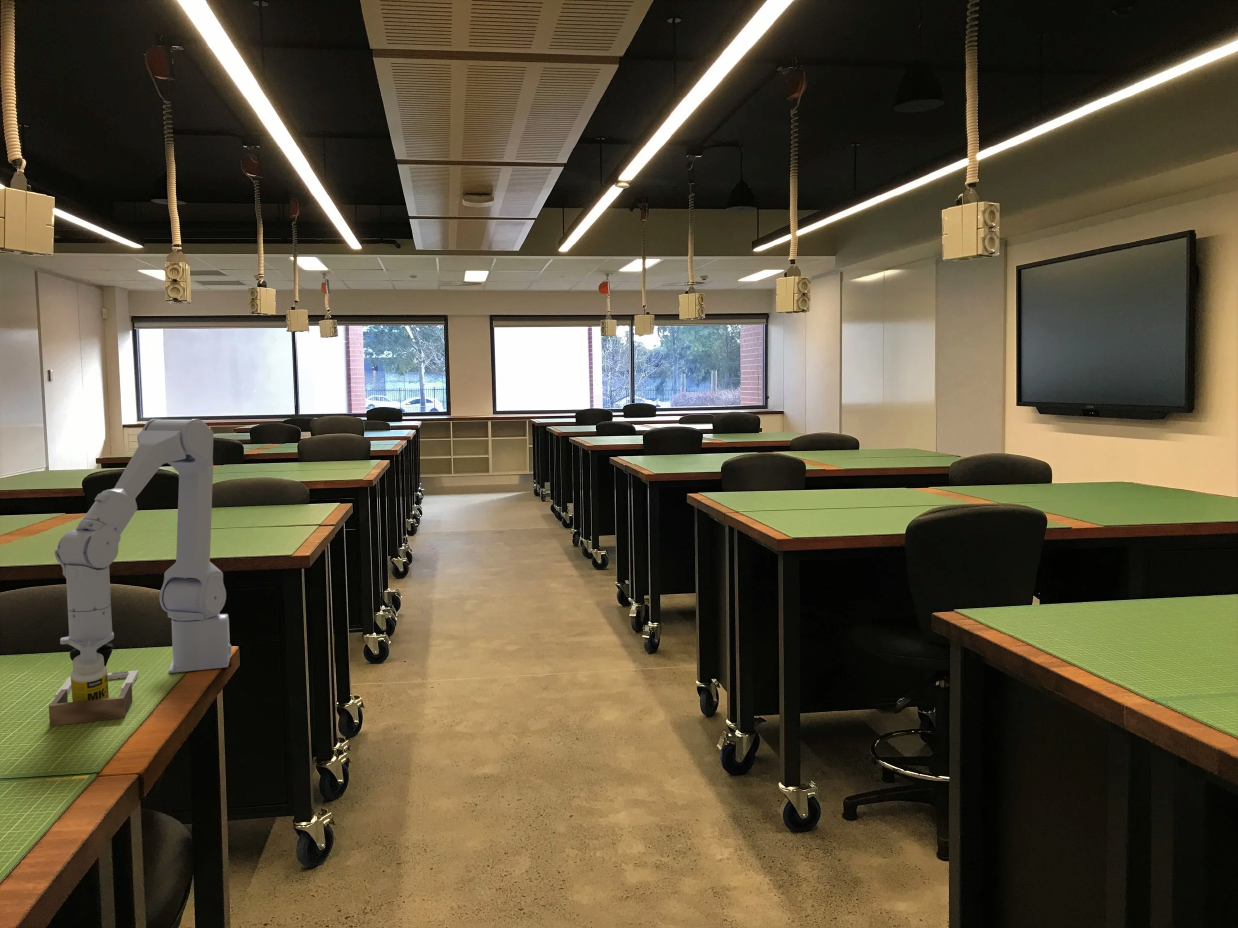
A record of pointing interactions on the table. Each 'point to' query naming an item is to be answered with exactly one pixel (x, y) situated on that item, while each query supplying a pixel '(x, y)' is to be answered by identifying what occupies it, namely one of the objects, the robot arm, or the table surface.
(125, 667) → the table surface
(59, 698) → the holder
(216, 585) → the robot arm
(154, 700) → the table surface
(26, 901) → the table surface
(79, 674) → the supplement bottle
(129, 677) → the dock
